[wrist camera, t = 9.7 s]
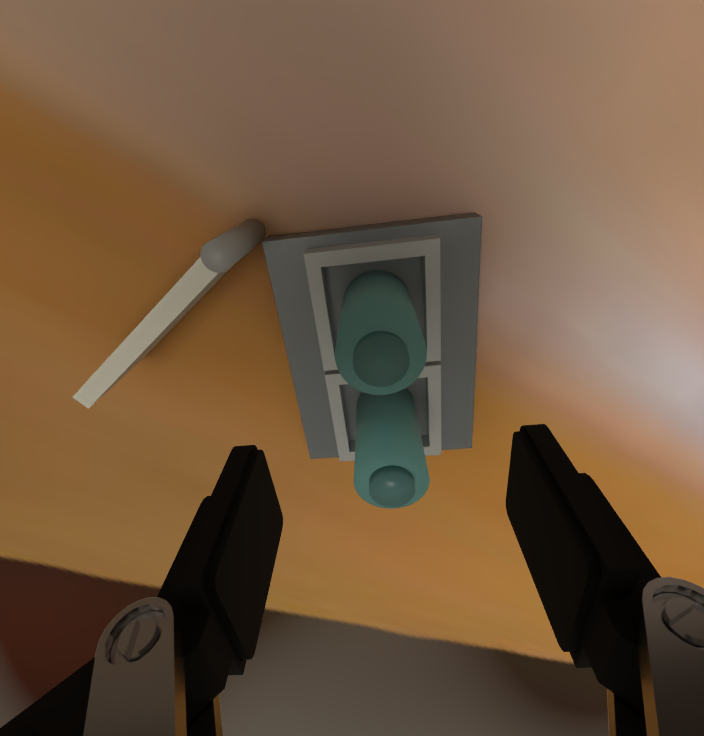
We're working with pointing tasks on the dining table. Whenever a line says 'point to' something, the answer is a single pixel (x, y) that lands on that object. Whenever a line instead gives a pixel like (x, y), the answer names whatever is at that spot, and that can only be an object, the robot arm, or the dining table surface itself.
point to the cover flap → (173, 306)
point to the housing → (432, 307)
